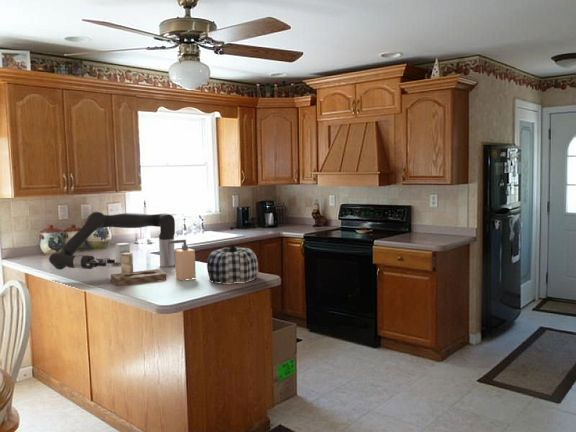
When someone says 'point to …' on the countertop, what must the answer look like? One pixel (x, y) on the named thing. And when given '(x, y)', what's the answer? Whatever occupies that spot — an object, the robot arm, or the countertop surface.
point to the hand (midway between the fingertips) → (110, 262)
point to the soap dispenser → (184, 261)
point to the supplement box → (121, 250)
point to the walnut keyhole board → (138, 277)
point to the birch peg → (127, 263)
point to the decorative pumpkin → (232, 265)
